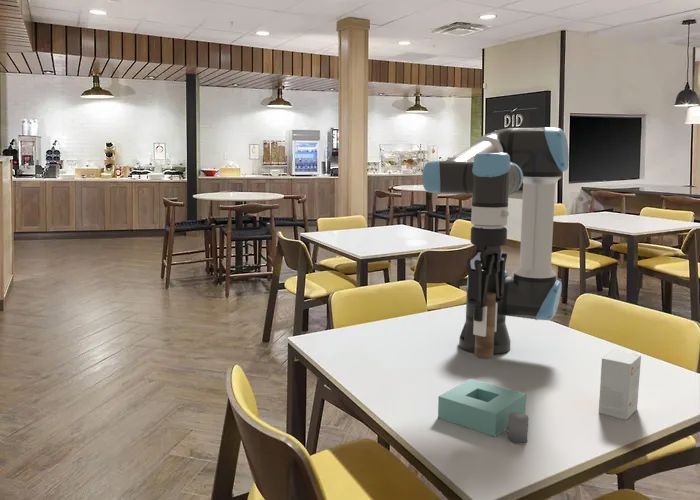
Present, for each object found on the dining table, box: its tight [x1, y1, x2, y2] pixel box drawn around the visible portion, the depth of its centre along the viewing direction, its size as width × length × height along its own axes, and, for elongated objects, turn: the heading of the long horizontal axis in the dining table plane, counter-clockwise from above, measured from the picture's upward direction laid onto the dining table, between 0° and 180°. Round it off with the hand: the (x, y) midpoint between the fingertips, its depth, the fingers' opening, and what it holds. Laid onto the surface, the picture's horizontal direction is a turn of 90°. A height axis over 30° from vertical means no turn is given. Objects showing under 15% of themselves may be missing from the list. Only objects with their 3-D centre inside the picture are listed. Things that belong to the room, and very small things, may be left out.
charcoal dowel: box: [507, 412, 530, 445], centre depth 128 cm, size 4×4×5 cm
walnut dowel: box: [474, 292, 496, 360], centre depth 136 cm, size 4×4×14 cm
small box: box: [598, 349, 642, 421], centre depth 141 cm, size 8×6×13 cm
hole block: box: [437, 378, 527, 437], centre depth 139 cm, size 14×14×5 cm
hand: (484, 332), depth 136 cm, fingers closed on walnut dowel, 4 cm apart
